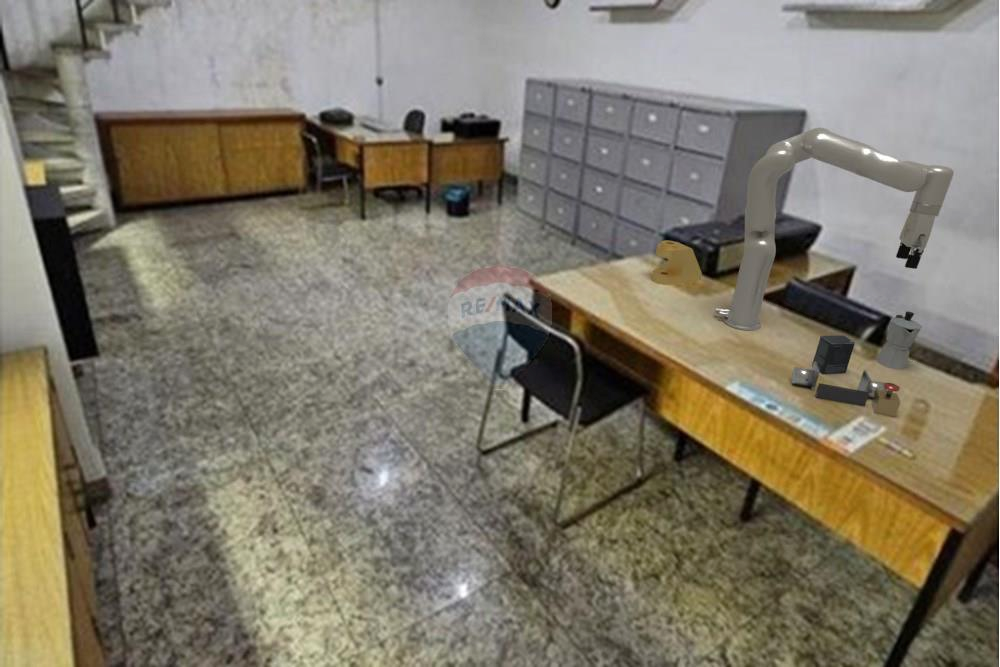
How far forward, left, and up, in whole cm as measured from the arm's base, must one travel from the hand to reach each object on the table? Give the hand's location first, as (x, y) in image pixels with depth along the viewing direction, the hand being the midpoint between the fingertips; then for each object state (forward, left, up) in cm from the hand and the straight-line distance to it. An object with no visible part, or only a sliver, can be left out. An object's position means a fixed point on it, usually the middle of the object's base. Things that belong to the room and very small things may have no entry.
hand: (905, 262), depth 196 cm
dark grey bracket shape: (-18, -37, -30) cm, 51 cm away
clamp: (-67, +37, -30) cm, 82 cm away
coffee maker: (+2, -11, -30) cm, 32 cm away
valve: (-8, -44, -30) cm, 54 cm away
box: (-18, -24, -30) cm, 42 cm away
